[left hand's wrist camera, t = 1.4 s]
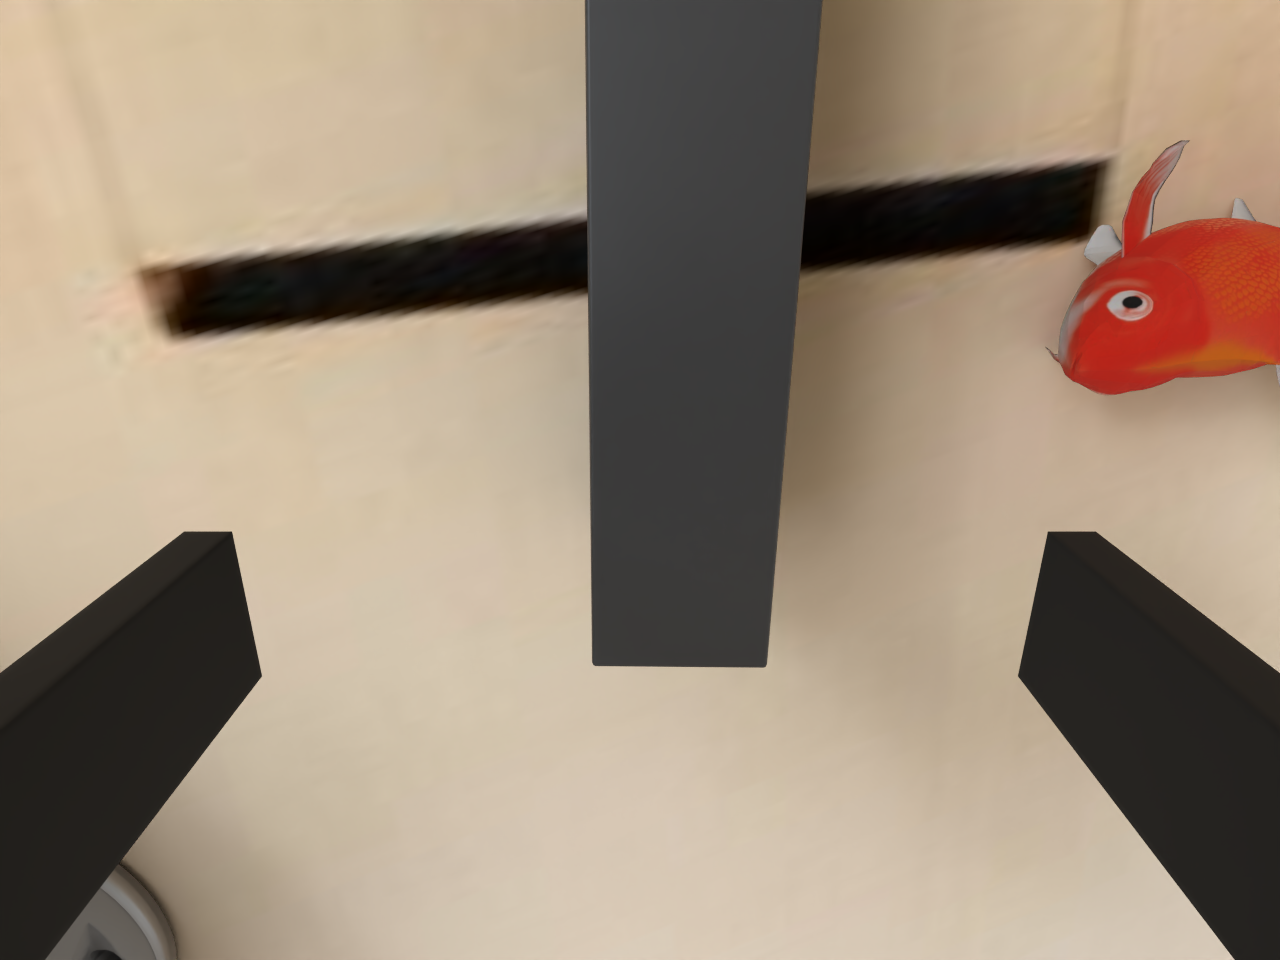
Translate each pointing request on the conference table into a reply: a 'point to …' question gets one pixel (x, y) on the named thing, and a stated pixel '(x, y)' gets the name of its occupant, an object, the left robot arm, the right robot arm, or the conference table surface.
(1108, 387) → the fish
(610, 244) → the bar
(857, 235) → the conference table surface
